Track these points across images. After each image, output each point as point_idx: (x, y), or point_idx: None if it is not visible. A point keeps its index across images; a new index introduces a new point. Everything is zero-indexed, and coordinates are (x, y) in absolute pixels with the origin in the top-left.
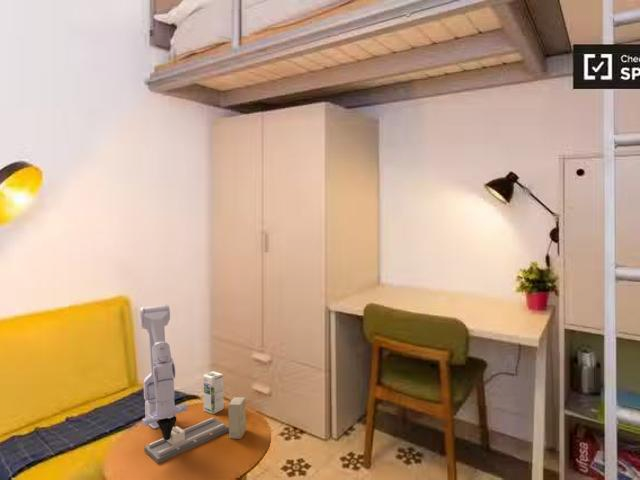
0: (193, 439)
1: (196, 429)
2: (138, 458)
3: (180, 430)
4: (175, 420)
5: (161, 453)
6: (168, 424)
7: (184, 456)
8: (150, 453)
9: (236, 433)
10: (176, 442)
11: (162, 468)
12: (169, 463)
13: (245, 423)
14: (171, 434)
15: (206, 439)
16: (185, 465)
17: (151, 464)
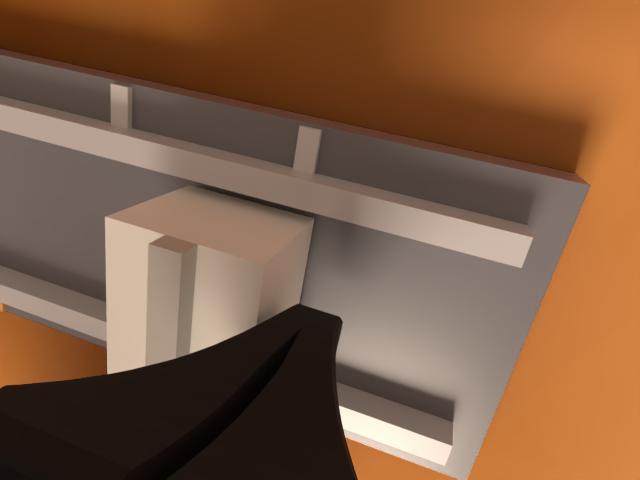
0: (117, 128)
1: (28, 255)
2: (587, 420)
3: (129, 281)
4: (12, 396)
5: (496, 223)
6: (215, 450)
7: (326, 25)
8: (512, 358)
9: None
10: (268, 216)
11: (636, 39)
12: (510, 57)
13: None
14: (253, 317)
15: (39, 59)
16: None
17: (620, 228)
